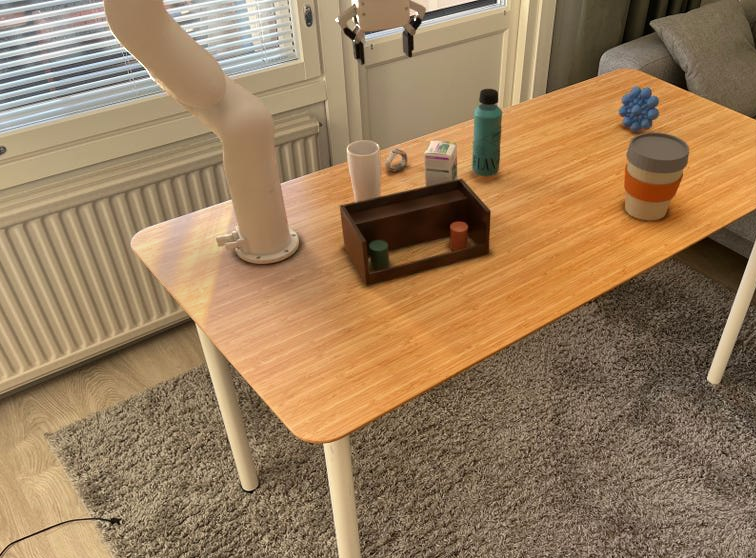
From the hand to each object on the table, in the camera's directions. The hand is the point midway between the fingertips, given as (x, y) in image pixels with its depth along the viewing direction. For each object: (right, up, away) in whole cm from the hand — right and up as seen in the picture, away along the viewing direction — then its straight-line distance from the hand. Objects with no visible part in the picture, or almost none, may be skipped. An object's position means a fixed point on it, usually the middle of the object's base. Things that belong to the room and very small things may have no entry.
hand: (384, 58), depth 137 cm
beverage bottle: (+20, -15, +28) cm, 38 cm away
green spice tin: (-1, -40, +2) cm, 40 cm away
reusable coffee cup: (+55, -25, +19) cm, 64 cm away
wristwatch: (-1, -13, +30) cm, 33 cm away
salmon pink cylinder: (+14, -35, +8) cm, 39 cm away
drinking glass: (-5, -26, +16) cm, 32 cm away
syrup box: (+11, -25, +18) cm, 33 cm away
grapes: (+60, +1, +46) cm, 76 cm away
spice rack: (+6, -36, +6) cm, 37 cm away
